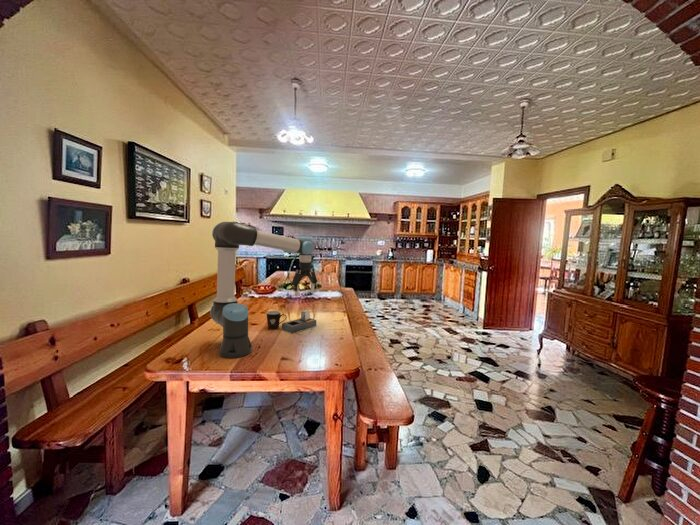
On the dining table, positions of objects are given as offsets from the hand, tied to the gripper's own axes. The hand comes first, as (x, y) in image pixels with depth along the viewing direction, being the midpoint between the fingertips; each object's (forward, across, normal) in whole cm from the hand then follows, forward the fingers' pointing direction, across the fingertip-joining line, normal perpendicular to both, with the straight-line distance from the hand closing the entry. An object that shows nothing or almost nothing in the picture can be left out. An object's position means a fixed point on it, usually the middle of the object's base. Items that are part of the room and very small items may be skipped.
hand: (304, 294), depth 187 cm
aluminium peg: (+21, +1, 0) cm, 21 cm away
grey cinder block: (+21, -4, 0) cm, 21 cm away
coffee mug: (+21, -15, +10) cm, 28 cm away
